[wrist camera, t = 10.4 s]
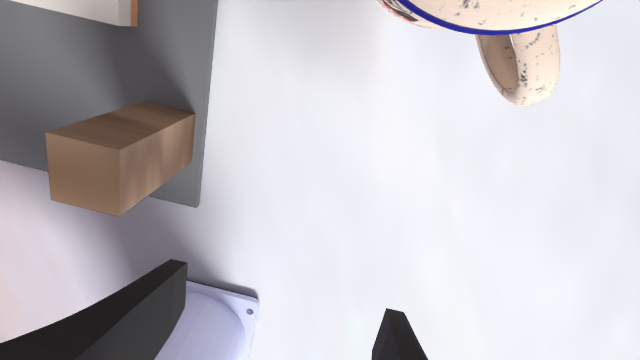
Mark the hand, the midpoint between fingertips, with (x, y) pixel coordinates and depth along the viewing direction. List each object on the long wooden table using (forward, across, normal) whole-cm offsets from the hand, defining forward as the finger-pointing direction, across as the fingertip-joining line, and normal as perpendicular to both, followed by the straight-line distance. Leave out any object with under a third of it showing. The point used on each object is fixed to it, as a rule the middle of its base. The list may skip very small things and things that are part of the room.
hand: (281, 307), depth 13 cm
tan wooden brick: (+10, +9, -2) cm, 13 cm away
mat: (+10, +14, -6) cm, 18 cm away
